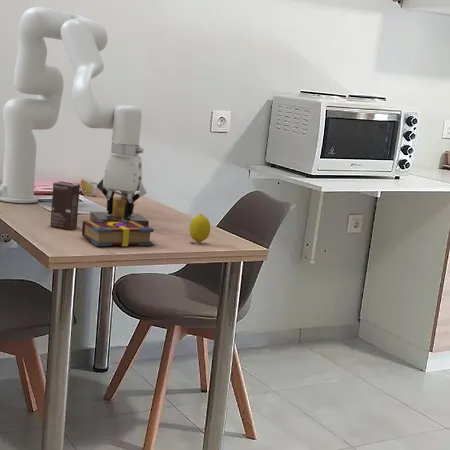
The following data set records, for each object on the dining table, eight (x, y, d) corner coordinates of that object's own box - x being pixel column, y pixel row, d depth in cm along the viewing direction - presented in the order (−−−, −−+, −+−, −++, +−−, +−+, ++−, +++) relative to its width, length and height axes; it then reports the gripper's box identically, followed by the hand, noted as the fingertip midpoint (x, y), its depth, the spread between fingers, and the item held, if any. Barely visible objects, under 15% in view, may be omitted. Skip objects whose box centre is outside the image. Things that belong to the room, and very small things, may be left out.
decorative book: (80, 237, 193) (82, 218, 192) (138, 236, 201) (139, 218, 200) (96, 247, 183) (98, 227, 182) (156, 246, 192) (158, 227, 191)
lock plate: (98, 230, 203) (99, 218, 203) (89, 221, 213) (90, 210, 213) (147, 231, 209) (149, 220, 208) (137, 223, 219) (137, 212, 218)
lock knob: (109, 216, 209) (110, 197, 208) (114, 213, 213) (116, 195, 212) (124, 218, 208) (125, 199, 207) (129, 215, 212) (131, 197, 211)
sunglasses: (74, 189, 267) (77, 175, 266) (114, 196, 274) (117, 183, 273) (84, 196, 254) (87, 181, 254) (125, 203, 261) (129, 189, 260)
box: (49, 226, 201) (52, 182, 199) (58, 224, 205) (61, 180, 203) (69, 230, 199) (72, 185, 197) (77, 227, 203) (81, 184, 201)
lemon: (187, 240, 203) (190, 211, 202) (207, 242, 204) (211, 213, 202) (188, 244, 198) (191, 215, 196) (209, 246, 198) (212, 217, 197)
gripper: (158, 153, 209) (152, 217, 213) (101, 145, 212) (96, 208, 216) (149, 155, 202) (143, 221, 205) (91, 147, 205) (86, 212, 209)
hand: (119, 214), depth 211 cm, fingers closed on lock knob, 4 cm apart
